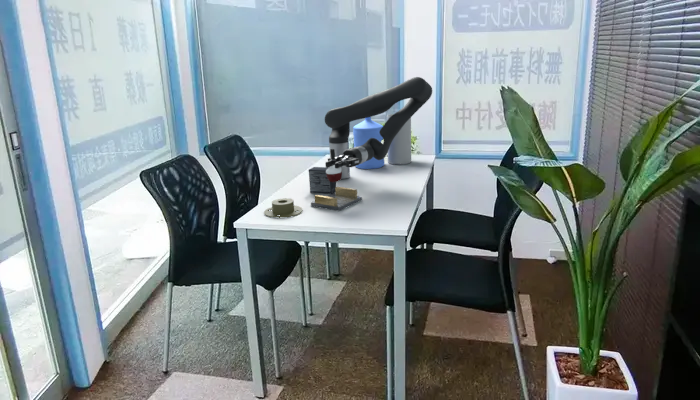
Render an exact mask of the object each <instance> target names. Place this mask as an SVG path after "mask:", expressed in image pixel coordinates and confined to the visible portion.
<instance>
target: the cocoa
mask: <svg viewBox="0 0 700 400" xmlns="http://www.w3.org/2000/svg"><path fill="white" fill-rule="evenodd" d="M330 153H331V159H335V151H334V149H329V154H330ZM335 163H336V161H335V160H334V161H333V166H331V167H329V168H328V169H327V170H326V175H327V178H328V180H329V181H330V182H336V183H337V182H340V180H342V179H341V177H342V171H341V167H339V168H335Z"/></svg>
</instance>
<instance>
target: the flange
mask: <svg viewBox="0 0 700 400" xmlns="http://www.w3.org/2000/svg"><path fill="white" fill-rule="evenodd" d="M303 209H304V208H302V207H301V206H299V205H295V202H294V199H292V198H277V199H274V200H272V201H271V207H268V208H267V209H265V210H264V211H263V214H265V215H266V216H265V215H264V216H265V217H267V216H269V217H268V218H271V217H279V218H278V219H281V218H280V217H287V218H292V217H291V216H293V217H295V215H296V216H298V214H299V215H301V214H302V213H303V212H302V211H303ZM269 210H272V211H269ZM296 211H299V212H296ZM301 212H302V213H301ZM300 213H301V214H300ZM277 215H280V216H277Z"/></svg>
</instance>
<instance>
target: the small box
mask: <svg viewBox="0 0 700 400" xmlns="http://www.w3.org/2000/svg"><path fill="white" fill-rule="evenodd" d="M328 168H329V167H326V166H313V167H311V168H309V169H308V176H309V178H308V180H309V182H308V183H309V193H311V194H312V193H313V194H328V195H330V194H332V193H335V192H336V191H335V187H337V182H330V181H329V180H328V178H327V175H326V170H327V169H328Z"/></svg>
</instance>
